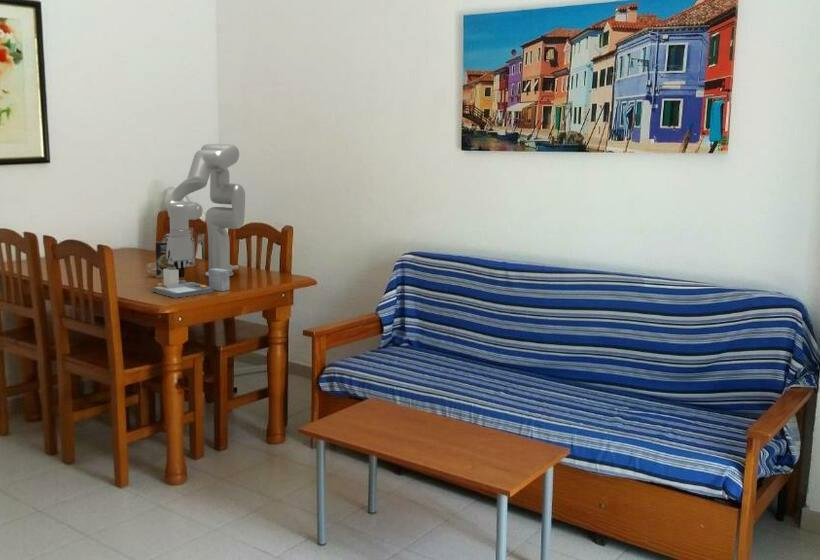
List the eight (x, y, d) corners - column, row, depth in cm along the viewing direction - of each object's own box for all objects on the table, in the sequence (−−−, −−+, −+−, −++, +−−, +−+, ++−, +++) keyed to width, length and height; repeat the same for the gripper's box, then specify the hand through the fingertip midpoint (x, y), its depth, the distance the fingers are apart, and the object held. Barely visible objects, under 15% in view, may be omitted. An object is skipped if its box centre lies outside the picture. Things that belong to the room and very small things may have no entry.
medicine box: (229, 290, 342) (229, 269, 341) (222, 291, 339) (222, 271, 337) (216, 287, 346) (215, 267, 345) (208, 289, 342) (208, 269, 341)
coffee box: (156, 278, 363) (155, 242, 360) (156, 275, 369) (155, 240, 366) (177, 277, 365) (176, 242, 362) (177, 275, 371) (176, 240, 368)
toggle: (172, 284, 339) (171, 266, 337) (178, 286, 335) (178, 267, 334) (163, 285, 336) (163, 267, 334) (170, 287, 333) (169, 268, 331)
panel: (190, 286, 347) (189, 279, 347) (213, 292, 336) (212, 285, 335) (152, 291, 334) (152, 284, 333) (174, 298, 323) (174, 290, 322)
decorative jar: (195, 266, 394) (195, 230, 390) (173, 269, 386) (172, 231, 382) (184, 263, 402) (183, 227, 399) (162, 265, 395) (161, 229, 391)
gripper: (190, 231, 343) (191, 273, 346) (158, 234, 332) (159, 277, 335) (200, 233, 338) (201, 276, 341) (168, 236, 327) (169, 280, 330)
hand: (180, 276), depth 338 cm, fingers closed
